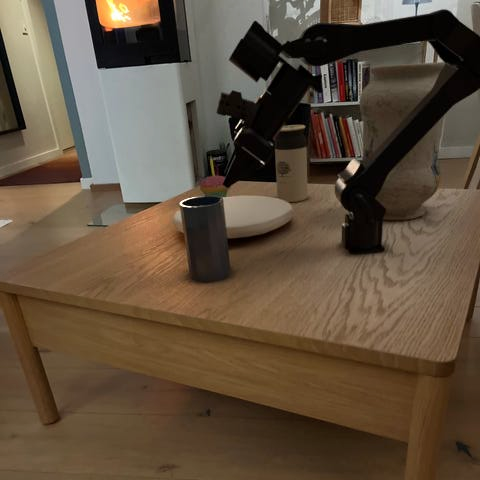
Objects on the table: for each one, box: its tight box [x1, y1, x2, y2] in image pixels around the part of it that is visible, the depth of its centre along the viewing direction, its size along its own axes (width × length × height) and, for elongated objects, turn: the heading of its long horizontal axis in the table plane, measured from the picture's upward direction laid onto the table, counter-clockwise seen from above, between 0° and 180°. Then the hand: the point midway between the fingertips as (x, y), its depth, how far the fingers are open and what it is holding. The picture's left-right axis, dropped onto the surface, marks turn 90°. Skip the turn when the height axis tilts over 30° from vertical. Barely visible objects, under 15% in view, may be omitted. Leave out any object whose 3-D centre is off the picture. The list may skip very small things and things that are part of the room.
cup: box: [179, 195, 231, 283], centre depth 81 cm, size 7×7×13 cm
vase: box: [358, 61, 446, 221], centre depth 101 cm, size 18×18×30 cm
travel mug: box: [274, 124, 308, 203], centre depth 122 cm, size 8×8×18 cm
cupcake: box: [199, 155, 232, 198], centre depth 128 cm, size 9×8×12 cm
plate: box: [172, 195, 294, 239], centre depth 106 cm, size 28×6×27 cm
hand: (225, 180), depth 84 cm, fingers open, 9 cm apart
